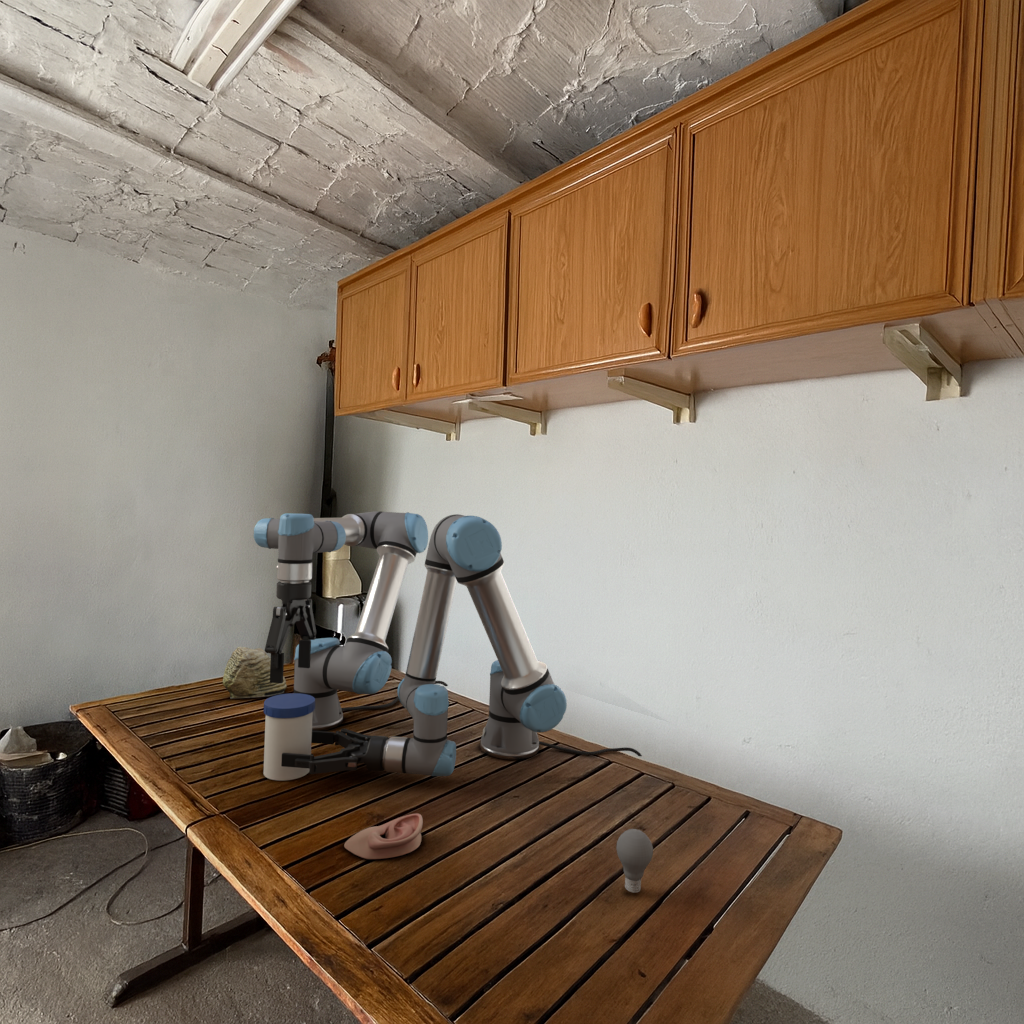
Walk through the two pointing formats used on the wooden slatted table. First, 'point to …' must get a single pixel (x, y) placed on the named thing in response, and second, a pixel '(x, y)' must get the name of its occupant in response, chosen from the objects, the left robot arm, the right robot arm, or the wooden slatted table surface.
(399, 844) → the anatomical model
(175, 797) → the wooden slatted table surface
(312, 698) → the lid
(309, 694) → the left robot arm
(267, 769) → the jar
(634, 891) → the light bulb
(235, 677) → the fossil
